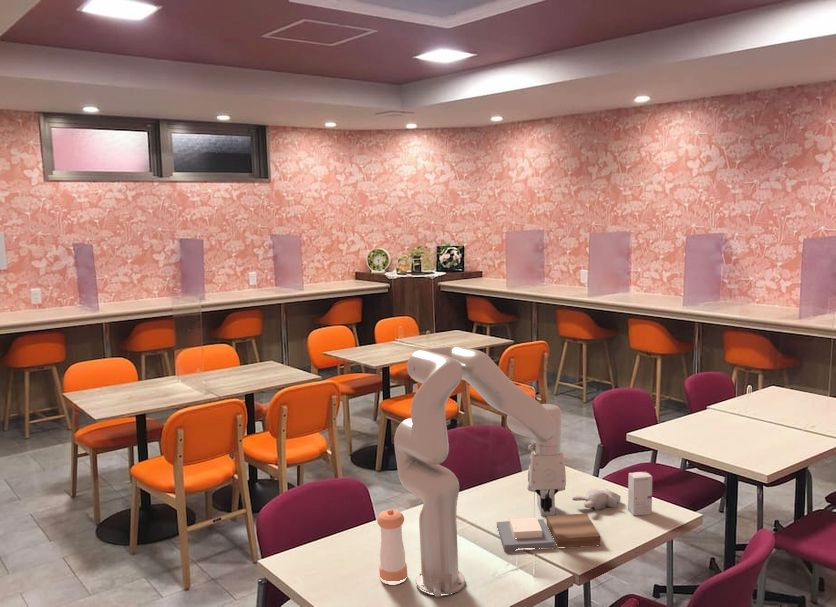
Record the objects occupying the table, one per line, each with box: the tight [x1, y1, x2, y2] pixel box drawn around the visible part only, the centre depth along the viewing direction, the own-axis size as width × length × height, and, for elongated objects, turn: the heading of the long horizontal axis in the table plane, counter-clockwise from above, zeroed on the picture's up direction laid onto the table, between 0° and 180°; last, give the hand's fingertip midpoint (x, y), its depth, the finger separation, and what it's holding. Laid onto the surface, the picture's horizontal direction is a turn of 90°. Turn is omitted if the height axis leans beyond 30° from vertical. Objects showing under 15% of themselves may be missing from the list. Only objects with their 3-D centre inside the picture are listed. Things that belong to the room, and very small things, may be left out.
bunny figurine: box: [571, 488, 622, 511], centre depth 224 cm, size 10×5×15 cm
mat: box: [496, 519, 555, 553], centre depth 206 cm, size 14×14×2 cm
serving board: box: [546, 513, 601, 548], centre depth 206 cm, size 14×12×3 cm
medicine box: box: [536, 490, 556, 517], centre depth 222 cm, size 8×4×9 cm, turn 179°
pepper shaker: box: [376, 508, 408, 581], centre depth 186 cm, size 7×7×19 cm
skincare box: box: [627, 471, 653, 516], centre depth 218 cm, size 6×4×12 cm
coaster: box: [508, 517, 542, 539], centre depth 206 cm, size 8×8×2 cm
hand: (546, 509), depth 204 cm, fingers closed
